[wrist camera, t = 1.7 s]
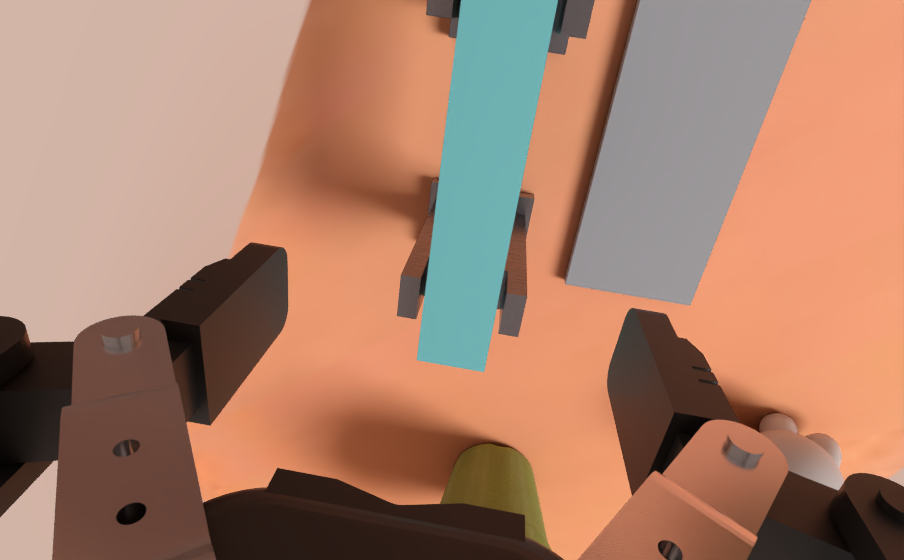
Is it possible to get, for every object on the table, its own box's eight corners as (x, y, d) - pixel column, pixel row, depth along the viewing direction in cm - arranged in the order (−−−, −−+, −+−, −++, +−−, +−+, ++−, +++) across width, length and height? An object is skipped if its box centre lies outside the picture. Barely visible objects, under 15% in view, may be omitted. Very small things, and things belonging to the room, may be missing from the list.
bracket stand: (461, -60, 30) (427, -101, 19) (584, -42, 30) (621, -73, 19) (426, 243, 39) (388, 335, 28) (520, 259, 39) (519, 358, 28)
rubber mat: (662, -98, 28) (666, -101, 28) (833, -74, 28) (841, -76, 27) (564, 279, 39) (565, 284, 38) (687, 300, 39) (690, 305, 38)
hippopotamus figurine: (704, 357, 44) (698, 406, 36) (856, 440, 40) (883, 512, 33) (660, 419, 47) (646, 475, 40) (797, 501, 43) (810, 579, 36)
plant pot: (467, 400, 45) (452, 510, 35) (583, 459, 47) (601, 581, 37) (406, 481, 50) (378, 596, 40) (513, 532, 52) (511, 655, 42)
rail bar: (482, -98, 21) (475, -117, 18) (569, -86, 21) (578, -103, 18) (427, 324, 30) (416, 360, 27) (487, 334, 30) (484, 372, 27)
